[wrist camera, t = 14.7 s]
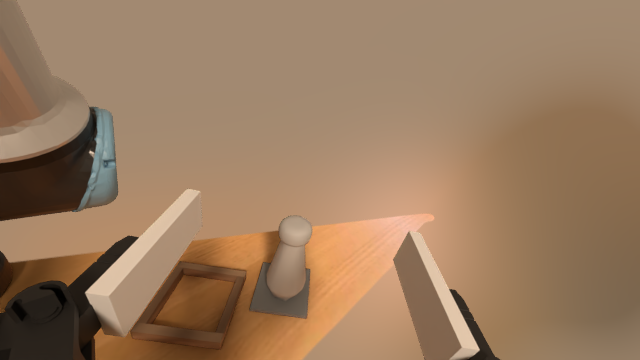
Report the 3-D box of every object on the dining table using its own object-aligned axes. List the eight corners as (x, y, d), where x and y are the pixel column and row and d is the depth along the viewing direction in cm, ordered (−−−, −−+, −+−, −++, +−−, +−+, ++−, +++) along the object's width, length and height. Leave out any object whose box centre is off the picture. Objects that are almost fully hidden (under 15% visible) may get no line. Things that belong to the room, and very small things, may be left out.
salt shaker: (265, 272, 37) (273, 207, 31) (300, 271, 38) (314, 209, 32) (265, 307, 32) (275, 238, 26) (305, 304, 34) (323, 239, 27)
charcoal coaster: (249, 310, 32) (249, 308, 32) (263, 264, 39) (263, 262, 39) (306, 318, 32) (307, 316, 32) (309, 271, 39) (310, 269, 39)
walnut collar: (132, 338, 27) (130, 331, 26) (180, 268, 35) (179, 261, 35) (220, 349, 27) (220, 342, 27) (246, 277, 36) (246, 271, 35)
